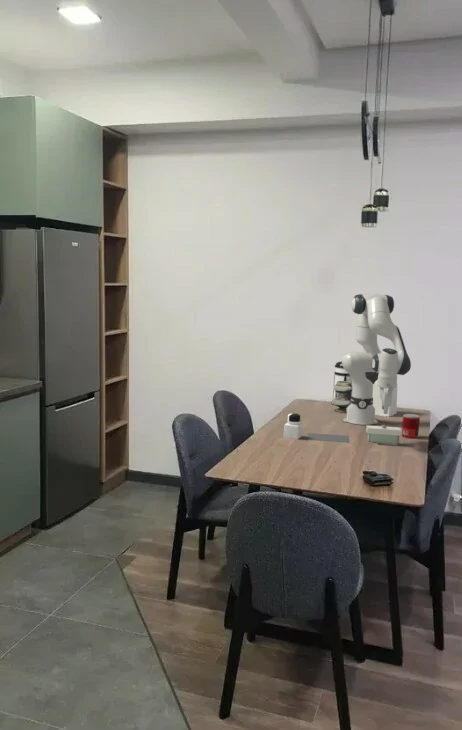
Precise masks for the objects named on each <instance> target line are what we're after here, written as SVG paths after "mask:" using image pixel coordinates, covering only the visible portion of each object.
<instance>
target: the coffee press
mask: <svg viewBox="0 0 462 730" xmlns="http://www.w3.org/2000/svg"><path fill="white" fill-rule="evenodd" d="M337 381H349V382H351V385H352V379H351V377H350V375H349V373H348V372H347V371H346V370H345V369H344V368H343V366H342V360H341V361H338V362H336V363H335V364H334V376H333V387H334V386H335V385H336V383H337ZM332 393H333V394H332V401H331V402H330V404H331V405H334V404H333V400H334V399H335V390H334V389H333V392H332ZM351 396H352V392H351Z"/></svg>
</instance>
